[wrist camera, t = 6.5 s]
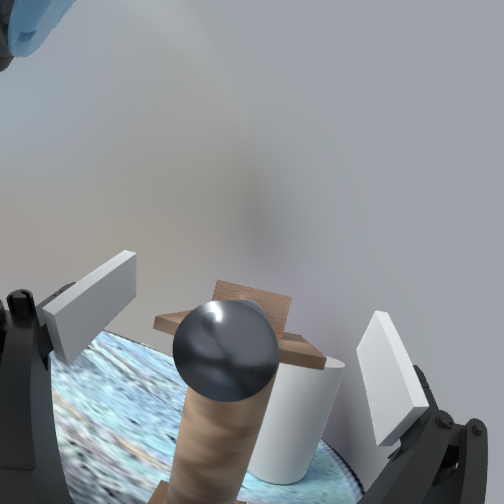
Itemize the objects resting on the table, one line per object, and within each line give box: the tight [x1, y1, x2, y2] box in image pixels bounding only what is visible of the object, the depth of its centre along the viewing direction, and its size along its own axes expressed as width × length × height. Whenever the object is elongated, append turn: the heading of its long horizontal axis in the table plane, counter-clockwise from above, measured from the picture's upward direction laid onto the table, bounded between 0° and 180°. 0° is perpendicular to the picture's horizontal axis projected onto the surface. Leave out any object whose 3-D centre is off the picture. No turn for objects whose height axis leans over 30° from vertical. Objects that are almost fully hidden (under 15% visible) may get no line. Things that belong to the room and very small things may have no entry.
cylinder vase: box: [247, 356, 345, 484], centre depth 42 cm, size 12×12×25 cm
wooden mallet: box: [173, 280, 292, 402], centre depth 19 cm, size 24×7×4 cm, turn 179°
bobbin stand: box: [147, 310, 327, 504], centre depth 23 cm, size 13×13×30 cm
